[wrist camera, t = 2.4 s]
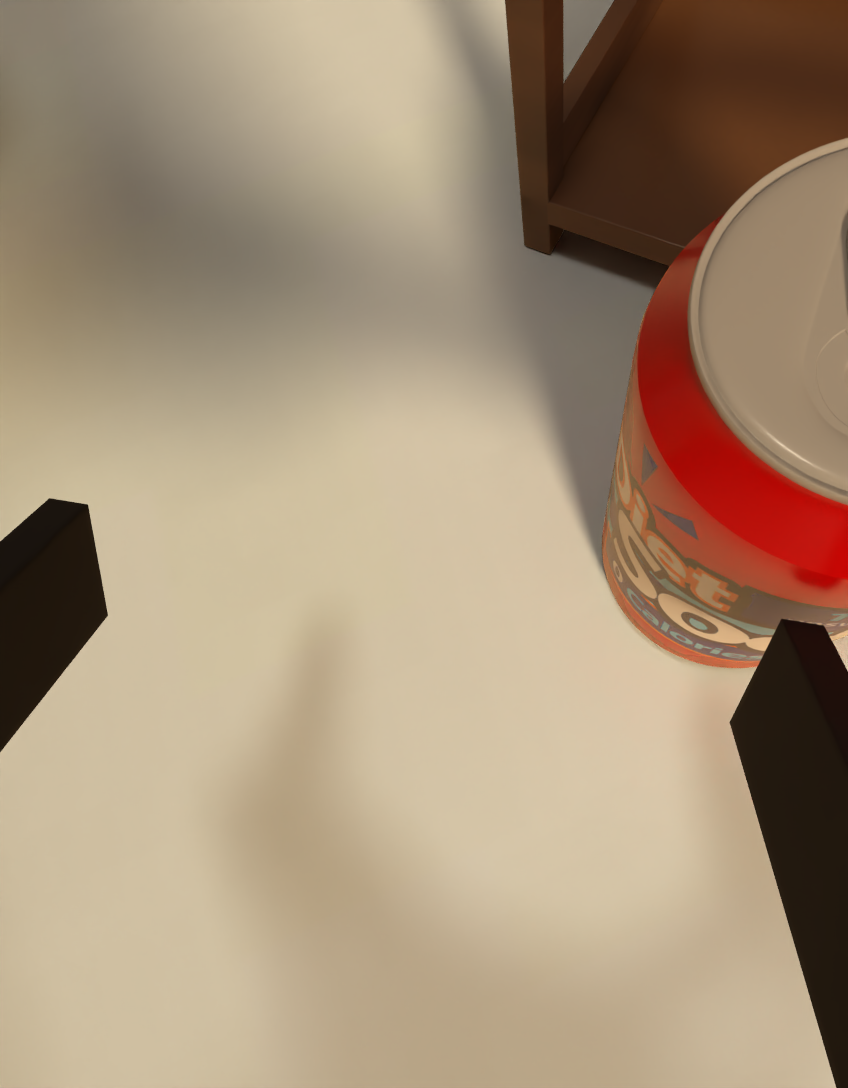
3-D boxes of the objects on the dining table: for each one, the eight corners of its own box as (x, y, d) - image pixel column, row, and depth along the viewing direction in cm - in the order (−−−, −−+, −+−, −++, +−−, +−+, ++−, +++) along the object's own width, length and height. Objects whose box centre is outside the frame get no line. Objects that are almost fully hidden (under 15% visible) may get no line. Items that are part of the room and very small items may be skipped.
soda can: (836, 450, 25) (1193, 62, 11) (850, 680, 23) (1310, 576, 9) (602, 449, 27) (646, 108, 12) (596, 663, 25) (641, 550, 10)
